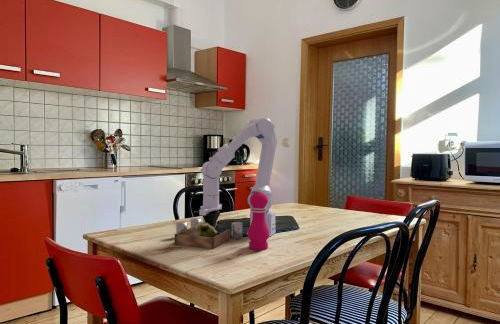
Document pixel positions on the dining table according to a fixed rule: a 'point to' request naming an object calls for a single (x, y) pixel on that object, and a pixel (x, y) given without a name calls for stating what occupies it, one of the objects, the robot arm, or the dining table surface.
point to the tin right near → (195, 221)
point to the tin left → (237, 230)
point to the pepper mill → (258, 222)
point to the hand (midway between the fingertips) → (211, 231)
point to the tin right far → (181, 226)
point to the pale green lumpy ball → (204, 230)
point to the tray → (200, 239)
